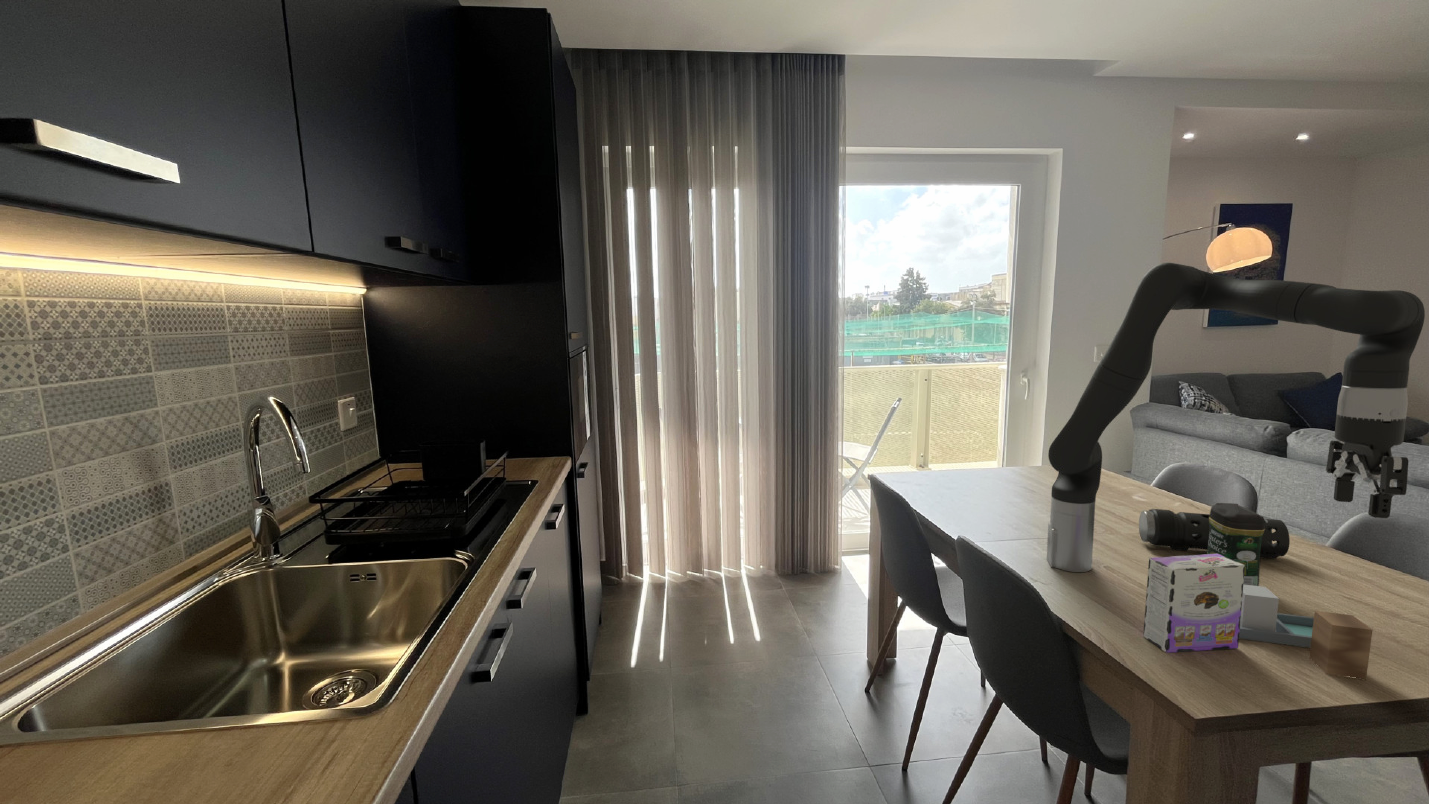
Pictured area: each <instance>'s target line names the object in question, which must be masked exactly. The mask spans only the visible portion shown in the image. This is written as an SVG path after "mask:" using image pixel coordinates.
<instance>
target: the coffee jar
mask: <svg viewBox="0 0 1429 804" xmlns="http://www.w3.org/2000/svg"><path fill="white" fill-rule="evenodd" d="M1209 511H1210V512H1209V514H1210V515H1209V525H1210V532H1209V542H1208V550H1206V553H1207V554H1220V555H1222V556H1224V557H1226V558H1229V559H1232V560H1234V561H1236V562H1238V563H1241V564H1243V565H1245V571H1244V582H1243V584H1244V585H1253V586H1260V563H1261V562H1260V560H1261V557H1260V547H1261V540H1262V536H1263V533H1264V530H1265V529H1264V528H1265V523H1264V519H1265V517H1264V516H1262V515H1260V514H1258V513H1257V512H1255V511H1253V510H1251V509H1249V508H1246V507H1244V506H1241V505H1239V504H1238V503H1232V502H1231V503H1230V502H1216V503H1215V504H1213V505H1212V506H1211V507H1210V510H1209Z"/></svg>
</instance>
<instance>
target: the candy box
mask: <svg viewBox="0 0 1429 804" xmlns="http://www.w3.org/2000/svg"><path fill="white" fill-rule="evenodd" d="M1244 571H1245V565H1243V564H1241V563H1238V562H1236V561H1234V560H1232V559H1229V558H1226V557H1224V556H1222V555H1220V554H1191V555H1175V556H1174V555H1173V556H1154V557H1151V556H1150V557H1149V558H1148V569H1147V579H1146V580H1147V583H1146V595H1145V605H1144V607H1145V609H1144V610H1145V611H1144V620H1143V621H1144V623H1143V638H1145V639H1146V640H1148V642H1150V643H1152V644H1153V645H1155V647H1157V648H1159V649H1160V650H1162V652H1164V653H1168V654H1169V653H1179V652H1180V653H1183V652H1197V651H1198V652H1199V651H1200V652H1201V651H1211V650H1212V651H1213V650H1224V649H1225V650H1230V649H1239V644H1240V638H1239V632H1240V618H1241V606H1242V595H1243V582H1244Z"/></svg>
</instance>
